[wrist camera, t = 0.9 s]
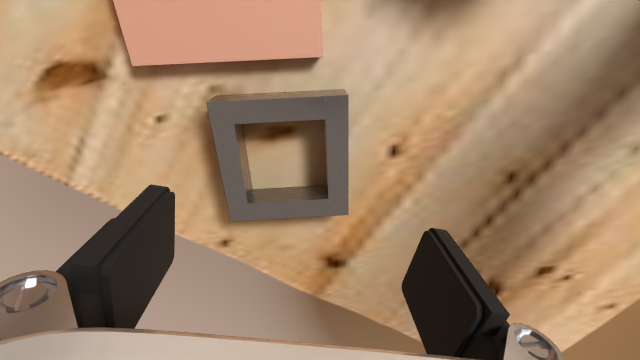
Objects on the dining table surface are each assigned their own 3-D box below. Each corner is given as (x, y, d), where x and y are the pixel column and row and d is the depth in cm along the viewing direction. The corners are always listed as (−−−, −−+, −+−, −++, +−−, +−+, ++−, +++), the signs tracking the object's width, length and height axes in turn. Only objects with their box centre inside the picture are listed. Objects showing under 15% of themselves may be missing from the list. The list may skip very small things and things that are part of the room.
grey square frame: (344, 89, 28) (348, 94, 25) (345, 200, 33) (348, 214, 31) (215, 95, 28) (206, 102, 25) (236, 206, 33) (230, 221, 30)
